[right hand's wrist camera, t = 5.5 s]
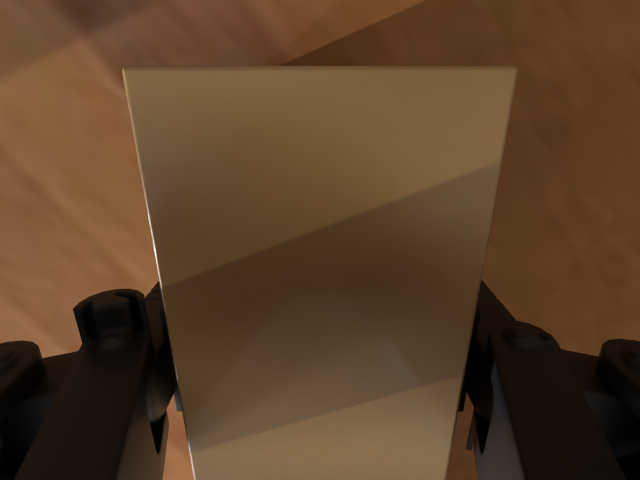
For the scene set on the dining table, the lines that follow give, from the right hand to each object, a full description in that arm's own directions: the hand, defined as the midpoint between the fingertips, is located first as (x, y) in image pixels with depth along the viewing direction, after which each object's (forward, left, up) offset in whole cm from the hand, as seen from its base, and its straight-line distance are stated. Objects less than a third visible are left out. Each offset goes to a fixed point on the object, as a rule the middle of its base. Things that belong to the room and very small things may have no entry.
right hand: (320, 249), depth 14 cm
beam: (-9, -29, -1) cm, 30 cm away
